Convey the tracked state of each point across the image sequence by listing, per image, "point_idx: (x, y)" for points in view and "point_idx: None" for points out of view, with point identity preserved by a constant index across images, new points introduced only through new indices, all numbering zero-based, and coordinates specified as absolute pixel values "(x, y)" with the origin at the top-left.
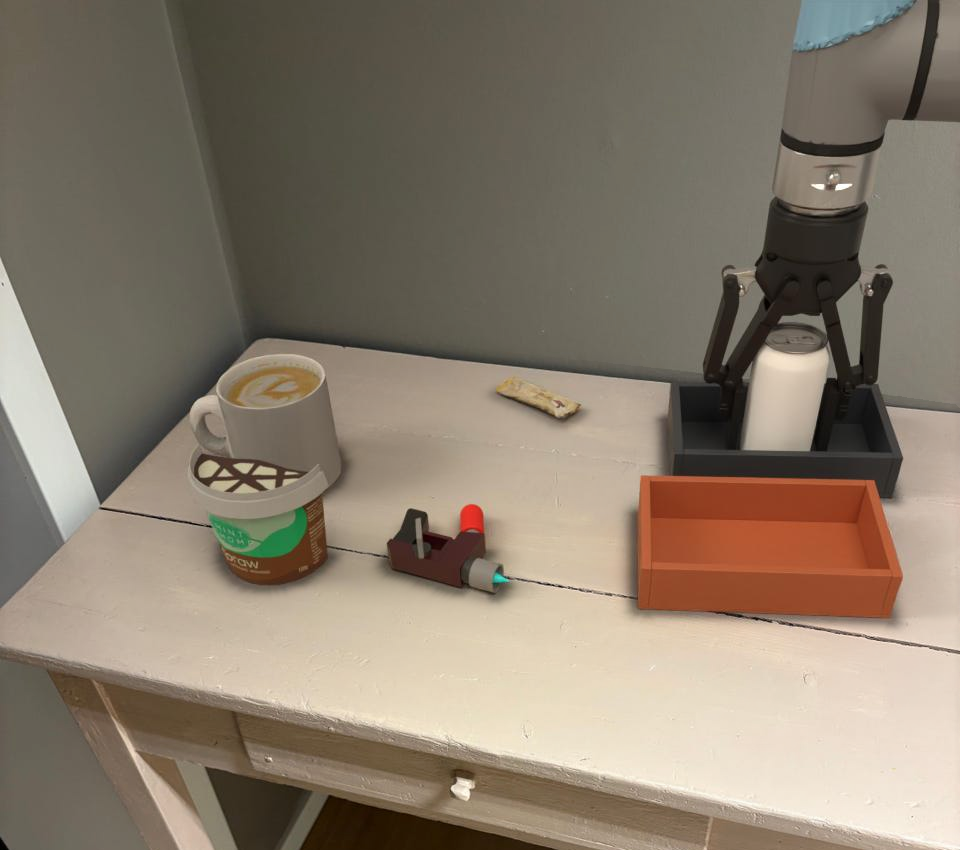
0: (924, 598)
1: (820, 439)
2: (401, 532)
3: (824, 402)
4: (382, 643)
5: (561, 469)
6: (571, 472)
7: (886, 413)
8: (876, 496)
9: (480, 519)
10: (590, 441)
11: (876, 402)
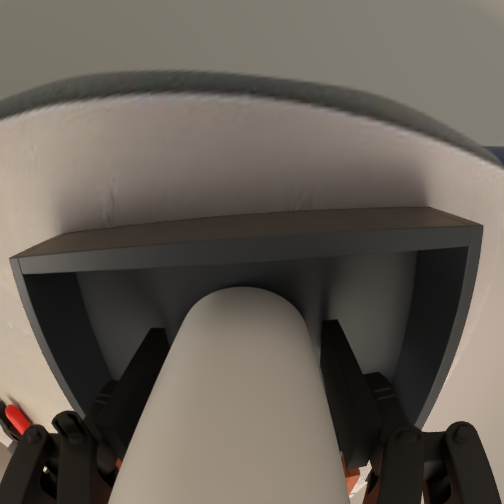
0: (361, 475)
1: (325, 381)
2: (2, 427)
3: (342, 408)
4: None
5: (15, 349)
6: (23, 356)
7: (456, 344)
8: (350, 488)
9: (20, 427)
10: (9, 298)
11: (458, 309)
